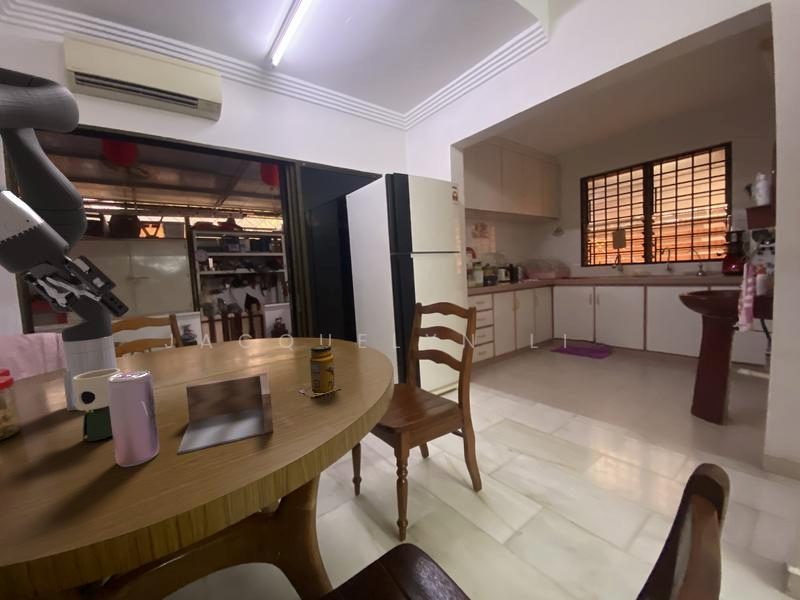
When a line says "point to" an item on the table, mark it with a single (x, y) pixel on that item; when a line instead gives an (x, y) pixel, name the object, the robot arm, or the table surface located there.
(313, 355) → the condiment
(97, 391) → the character mug
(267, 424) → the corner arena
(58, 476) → the table surface
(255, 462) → the table surface
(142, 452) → the beverage can
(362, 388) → the table surface
